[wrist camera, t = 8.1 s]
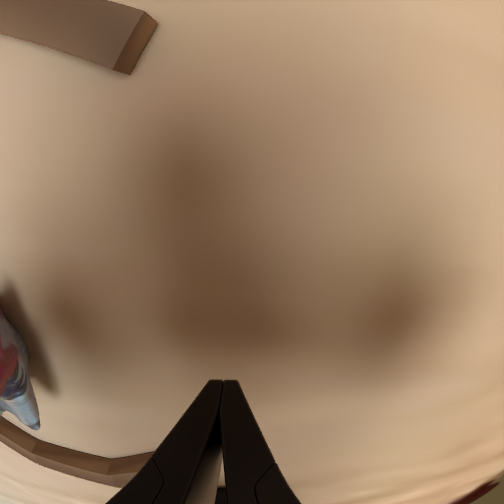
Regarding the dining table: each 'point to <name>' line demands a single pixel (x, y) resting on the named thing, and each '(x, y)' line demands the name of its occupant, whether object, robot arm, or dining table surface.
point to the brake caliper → (16, 377)
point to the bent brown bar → (116, 58)
